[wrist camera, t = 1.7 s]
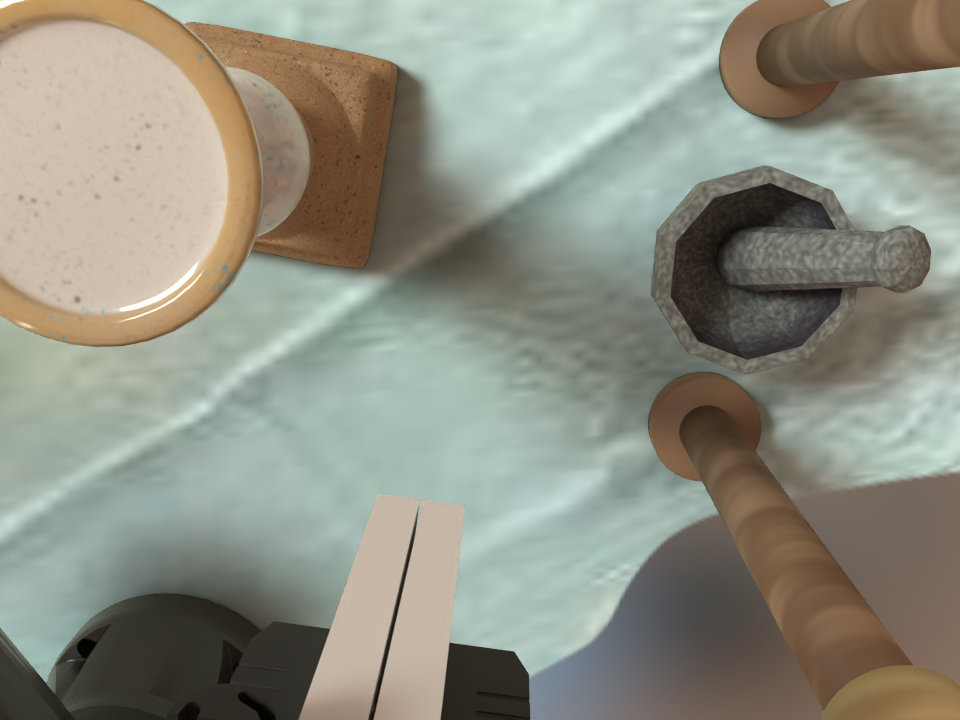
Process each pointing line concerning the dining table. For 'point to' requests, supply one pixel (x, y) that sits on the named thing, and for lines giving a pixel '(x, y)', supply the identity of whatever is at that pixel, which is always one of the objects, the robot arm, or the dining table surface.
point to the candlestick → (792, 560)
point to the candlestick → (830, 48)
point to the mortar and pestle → (771, 268)
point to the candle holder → (172, 163)
